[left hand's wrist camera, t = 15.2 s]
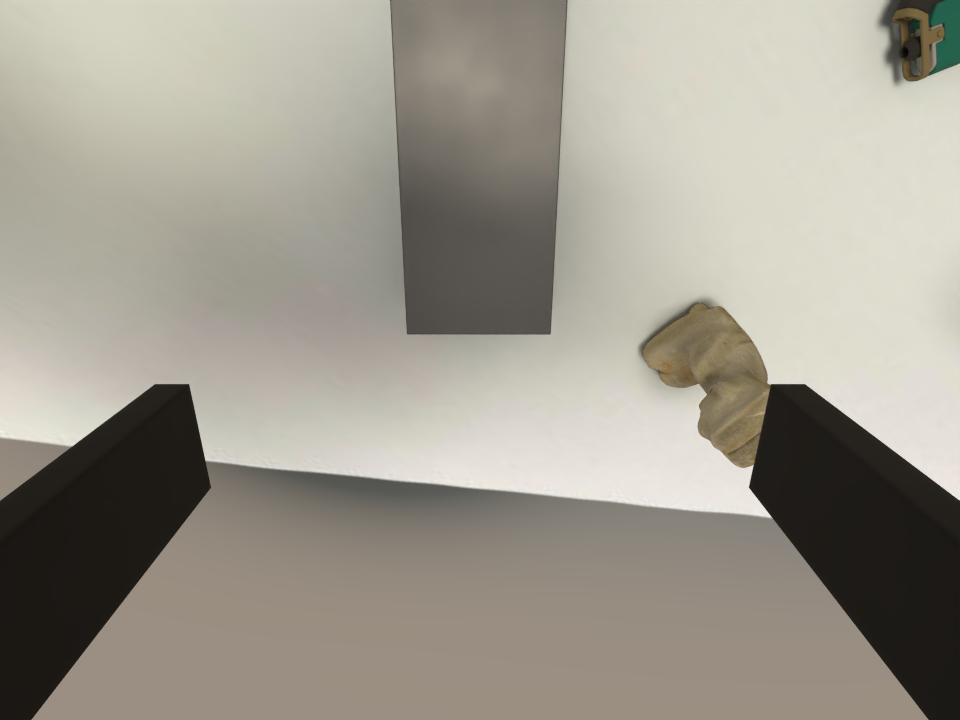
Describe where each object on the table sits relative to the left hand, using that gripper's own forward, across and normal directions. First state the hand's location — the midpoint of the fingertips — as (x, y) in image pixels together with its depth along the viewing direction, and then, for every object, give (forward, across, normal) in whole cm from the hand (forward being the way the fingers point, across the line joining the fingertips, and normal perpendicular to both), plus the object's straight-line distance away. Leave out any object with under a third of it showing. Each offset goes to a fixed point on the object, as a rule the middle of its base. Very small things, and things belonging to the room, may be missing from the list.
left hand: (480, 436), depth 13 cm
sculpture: (+32, -17, +9) cm, 38 cm away
